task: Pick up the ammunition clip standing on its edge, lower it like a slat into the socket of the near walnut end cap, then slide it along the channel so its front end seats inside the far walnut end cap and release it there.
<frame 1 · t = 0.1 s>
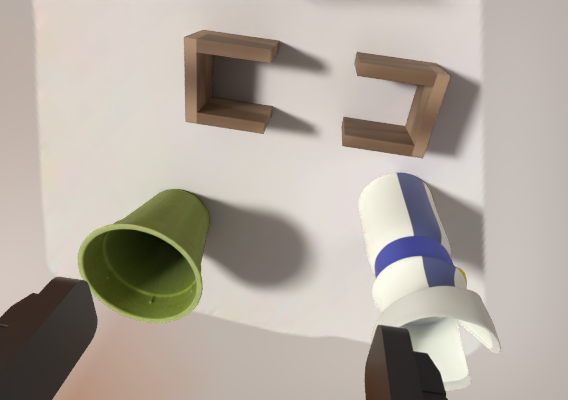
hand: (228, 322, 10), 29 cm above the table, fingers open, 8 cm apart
water bottle: (396, 202, 41), on the table
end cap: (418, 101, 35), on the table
plant pot: (181, 212, 45), on the table
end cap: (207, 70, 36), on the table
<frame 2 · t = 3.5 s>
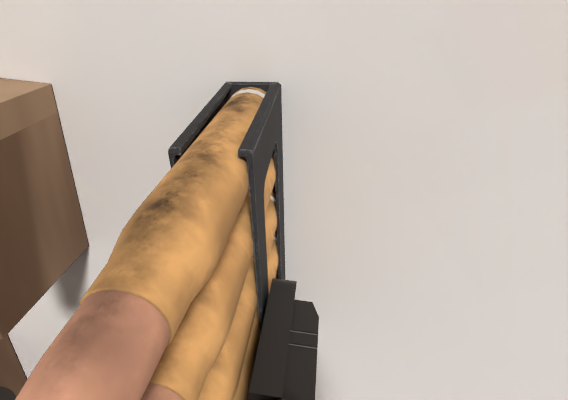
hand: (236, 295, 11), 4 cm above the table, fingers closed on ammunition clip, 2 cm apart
ammunition clip: (261, 217, 15), on the table, touching gripper
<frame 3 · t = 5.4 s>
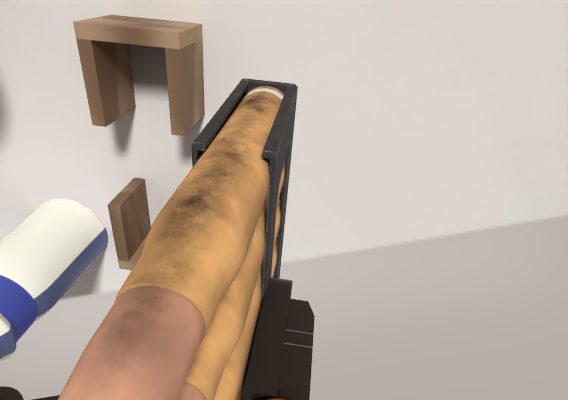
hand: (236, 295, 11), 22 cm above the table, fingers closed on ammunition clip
water bottle: (75, 230, 40), on the table
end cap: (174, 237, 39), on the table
ammunition clip: (262, 215, 15), point 18 cm above the table, touching gripper
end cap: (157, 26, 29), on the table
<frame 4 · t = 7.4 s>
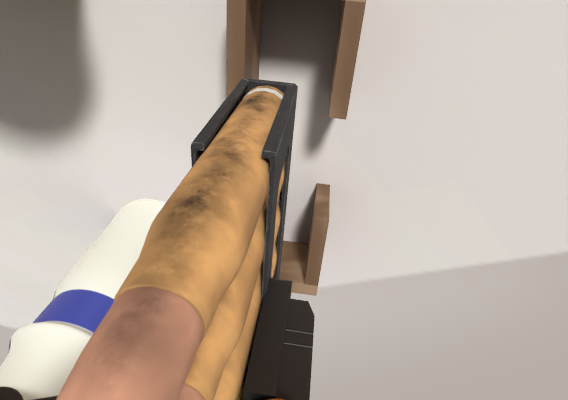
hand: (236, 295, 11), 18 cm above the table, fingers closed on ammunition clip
water bottle: (159, 236, 35), on the table
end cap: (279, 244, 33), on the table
ammunition clip: (262, 215, 15), point 14 cm above the table, touching gripper
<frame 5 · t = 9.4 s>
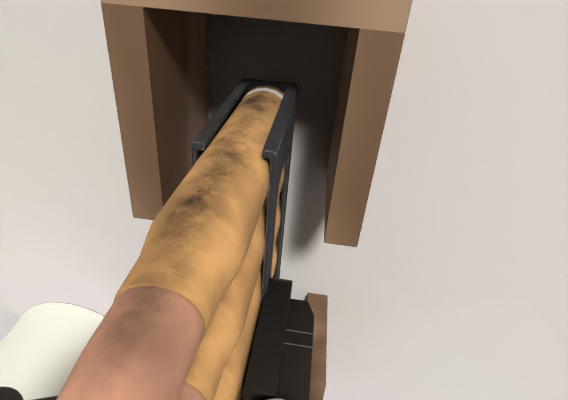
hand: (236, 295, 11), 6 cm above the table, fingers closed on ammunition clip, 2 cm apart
water bottle: (85, 346, 24), on the table
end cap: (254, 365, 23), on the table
ammunition clip: (262, 215, 15), point 2 cm above the table, touching gripper
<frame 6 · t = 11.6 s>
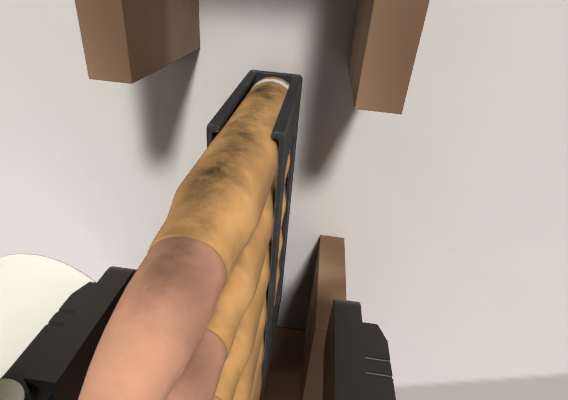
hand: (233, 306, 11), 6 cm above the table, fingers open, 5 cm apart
water bottle: (59, 310, 21), on the table
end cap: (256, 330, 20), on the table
ammunition clip: (268, 202, 16), on the table
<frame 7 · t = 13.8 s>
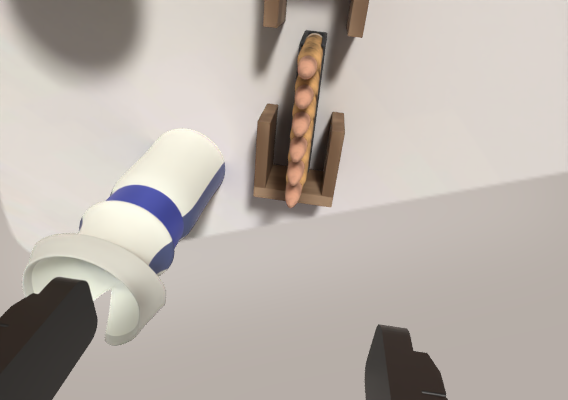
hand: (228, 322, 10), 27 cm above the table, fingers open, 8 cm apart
water bottle: (191, 165, 39), on the table
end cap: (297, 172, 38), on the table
ammunition clip: (308, 95, 34), on the table
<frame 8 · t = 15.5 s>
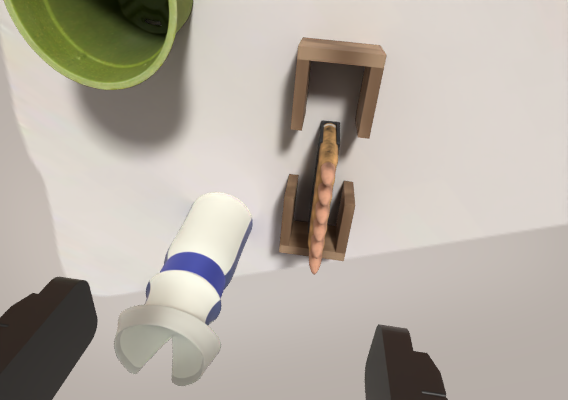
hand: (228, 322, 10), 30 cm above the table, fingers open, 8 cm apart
water bottle: (223, 220, 46), on the table
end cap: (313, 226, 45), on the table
ammunition clip: (323, 167, 41), on the table
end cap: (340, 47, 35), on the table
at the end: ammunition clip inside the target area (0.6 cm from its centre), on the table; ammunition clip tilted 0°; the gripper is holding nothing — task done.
